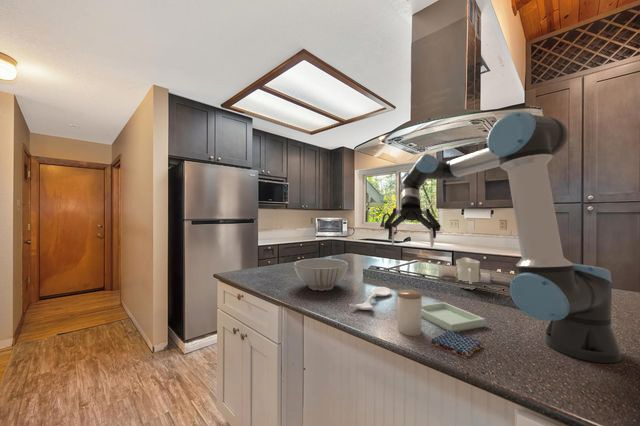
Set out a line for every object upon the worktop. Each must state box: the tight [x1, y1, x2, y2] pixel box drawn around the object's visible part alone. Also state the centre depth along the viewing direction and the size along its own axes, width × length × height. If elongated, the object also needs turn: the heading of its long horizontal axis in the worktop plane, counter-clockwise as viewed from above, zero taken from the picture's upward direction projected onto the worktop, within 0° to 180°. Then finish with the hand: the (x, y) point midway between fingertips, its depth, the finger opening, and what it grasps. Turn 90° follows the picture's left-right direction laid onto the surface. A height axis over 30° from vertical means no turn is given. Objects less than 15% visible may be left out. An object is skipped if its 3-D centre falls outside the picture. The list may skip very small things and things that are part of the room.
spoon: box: [349, 286, 392, 311], centre depth 117 cm, size 9×32×4 cm, turn 151°
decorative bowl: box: [293, 258, 349, 292], centre depth 139 cm, size 27×27×12 cm
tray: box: [422, 301, 486, 333], centre depth 98 cm, size 18×14×2 cm
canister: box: [396, 289, 423, 337], centre depth 89 cm, size 7×7×12 cm
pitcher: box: [454, 256, 482, 284], centre depth 135 cm, size 11×18×14 cm, turn 160°
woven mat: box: [430, 330, 483, 359], centre depth 79 cm, size 10×11×2 cm
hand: (412, 243), depth 101 cm, fingers open, 13 cm apart
